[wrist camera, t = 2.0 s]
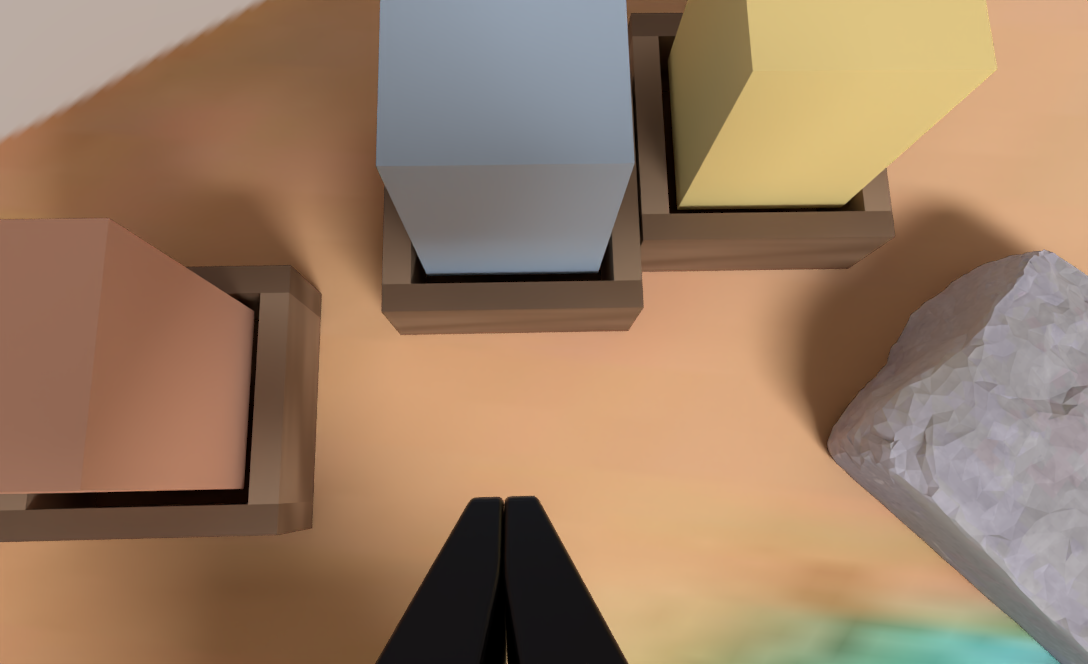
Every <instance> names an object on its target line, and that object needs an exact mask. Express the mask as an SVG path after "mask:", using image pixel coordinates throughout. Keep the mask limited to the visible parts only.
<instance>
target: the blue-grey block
mask: <svg viewBox="0 0 1088 664" xmlns="http://www.w3.org/2000/svg"><path fill="white" fill-rule="evenodd" d="M634 164H635V161H634V142H633V123H632V104H631V85H630V66H629V46H628V27H627V8H626V0H380V29H379V67H378V106H377V144H376V168H377V170H378V172H379V174H380V176H381V178H382V180H383V182H384V185H385V187H386V189H387V191H388V193H389V195H390V197H391V199H392V202H393V204H394V206H395V208H396V210H397V212H398V214H399V216H400V218H401V221H402V223H403V225H404V227H405V229H406V231H407V233H408V235H409V238H410V240H411V242H412V244H413V246H414V248H415V250H416V252H417V255H418V257H419V259H420V261H421V263H422V265H423V267H424V269H425V272H426V274H427V276H460V275H524V274H588V273H598V271H599V268H600V265H601V262H602V259H603V256H604V253H605V250H606V247H607V244H608V241H609V238H610V235H611V232H612V229H613V226H614V223H615V220H616V217H617V214H618V211H619V208H620V205H621V202H622V199H623V196H624V194H625V191H626V188H627V185H628V182H629V179H630V176H631V173H632V170H633V167H634Z"/></svg>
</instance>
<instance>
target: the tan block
mask: <svg viewBox="0 0 1088 664" xmlns="http://www.w3.org/2000/svg"><path fill="white" fill-rule="evenodd" d="M254 312H255V311H253V310H251V309H250V308H248V307H247V306H245V305H244V304H242V303H241V302H239V301H237V300H236V299H234V298H233V297H231V296H230V295H228V294H227V293H225V292H223V291H222V290H220V289H219V288H217V287H216V286H214V285H212V284H211V283H209V282H208V281H206V280H205V279H203V278H202V277H200V276H198V275H197V274H195V273H194V272H192V271H191V270H189V269H188V268H186V267H184V266H183V265H181V264H180V263H178V262H177V261H175V260H174V259H172V258H170V257H169V256H167V255H166V254H164V253H163V252H161V251H160V250H158V249H156V248H155V247H153V246H152V245H150V244H149V243H147V242H145V241H144V240H142V239H141V238H139V237H138V236H136V235H135V234H133V233H131V232H130V231H128V230H127V229H125V228H124V227H122V226H121V225H119V224H117V223H116V222H114V221H113V220H111V219H110V218H73V219H0V494H30V493H83V492H125V491H168V490H211V489H244V478H245V461H246V444H247V428H248V411H249V395H250V378H251V362H252V345H253V328H254Z"/></svg>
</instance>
